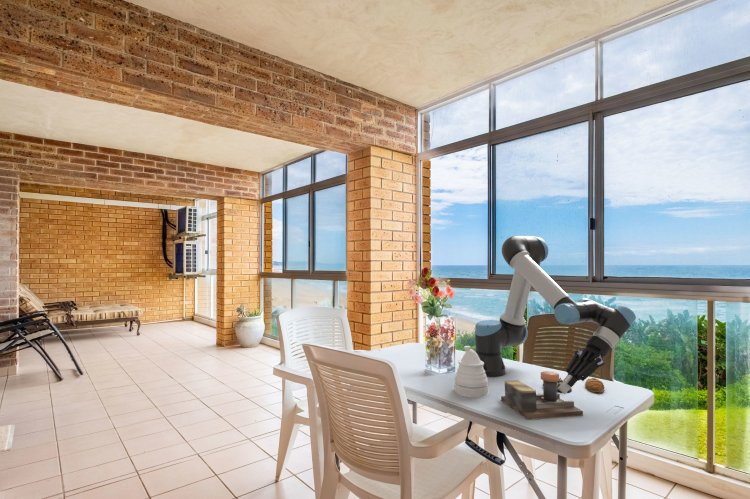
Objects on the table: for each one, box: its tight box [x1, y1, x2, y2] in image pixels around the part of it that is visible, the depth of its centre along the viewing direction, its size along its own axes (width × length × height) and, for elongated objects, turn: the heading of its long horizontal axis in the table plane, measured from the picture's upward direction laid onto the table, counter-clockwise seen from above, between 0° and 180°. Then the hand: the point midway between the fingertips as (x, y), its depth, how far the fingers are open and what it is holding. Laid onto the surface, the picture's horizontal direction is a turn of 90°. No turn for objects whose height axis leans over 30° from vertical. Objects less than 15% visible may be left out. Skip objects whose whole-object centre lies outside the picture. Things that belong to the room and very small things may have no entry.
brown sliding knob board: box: [500, 379, 584, 421], centre depth 139 cm, size 18×20×8 cm
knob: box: [540, 370, 560, 402], centre depth 140 cm, size 6×6×10 cm
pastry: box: [584, 377, 606, 393], centre depth 158 cm, size 9×7×4 cm
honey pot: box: [454, 345, 489, 398], centre depth 156 cm, size 13×13×18 cm
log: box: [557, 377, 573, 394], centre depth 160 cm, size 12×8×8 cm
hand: (561, 391), depth 140 cm, fingers closed
